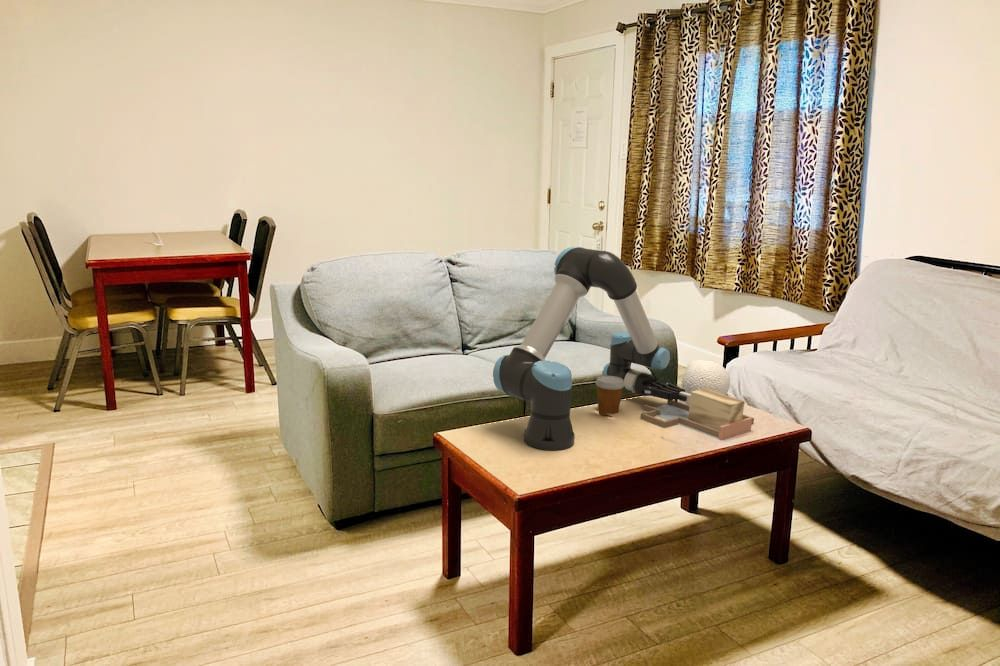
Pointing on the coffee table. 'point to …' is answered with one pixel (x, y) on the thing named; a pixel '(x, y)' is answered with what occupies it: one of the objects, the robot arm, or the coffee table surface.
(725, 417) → the maple block
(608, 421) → the coffee table surface
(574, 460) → the coffee table surface
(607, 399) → the disposable coffee cup
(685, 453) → the coffee table surface
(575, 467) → the coffee table surface
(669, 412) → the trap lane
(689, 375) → the decorative orb
